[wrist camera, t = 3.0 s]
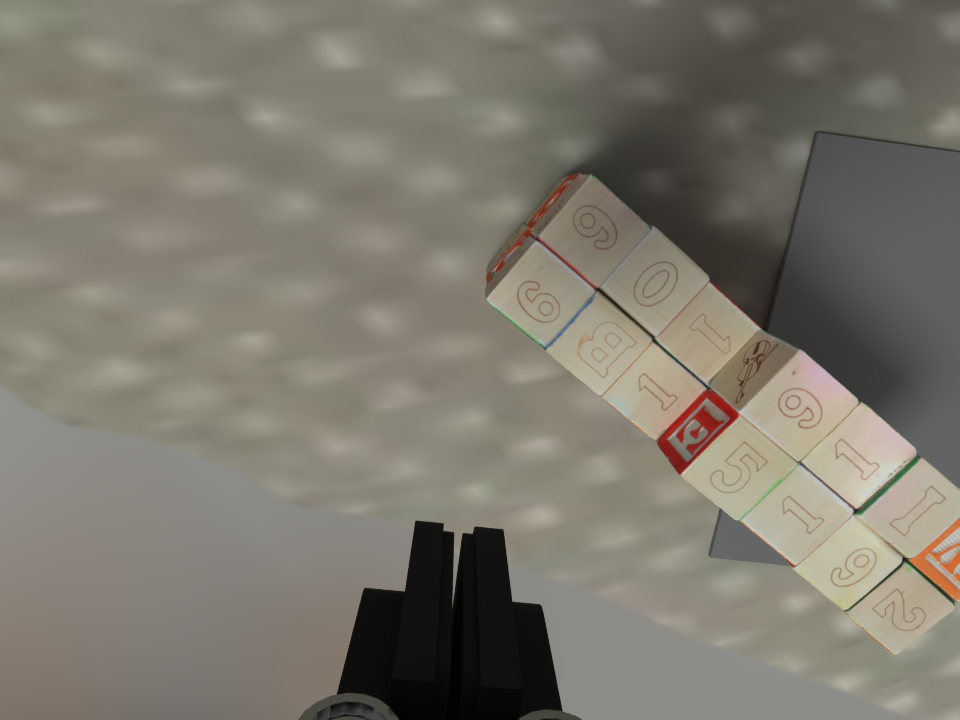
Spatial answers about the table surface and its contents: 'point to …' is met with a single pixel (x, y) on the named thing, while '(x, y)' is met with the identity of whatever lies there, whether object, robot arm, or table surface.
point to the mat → (874, 296)
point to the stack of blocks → (736, 409)
